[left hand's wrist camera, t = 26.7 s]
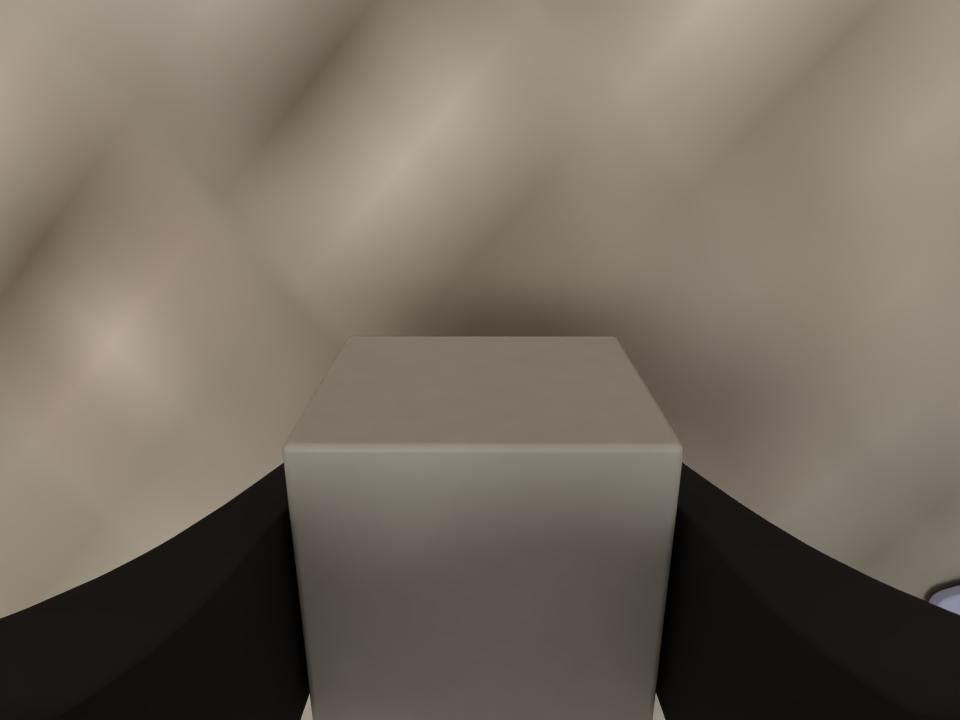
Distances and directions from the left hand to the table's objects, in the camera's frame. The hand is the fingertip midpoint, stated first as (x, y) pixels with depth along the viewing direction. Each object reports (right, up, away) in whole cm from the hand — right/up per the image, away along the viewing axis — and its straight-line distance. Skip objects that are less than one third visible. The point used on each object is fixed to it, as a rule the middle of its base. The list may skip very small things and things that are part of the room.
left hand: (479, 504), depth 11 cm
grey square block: (0, 0, +1) cm, 1 cm away
